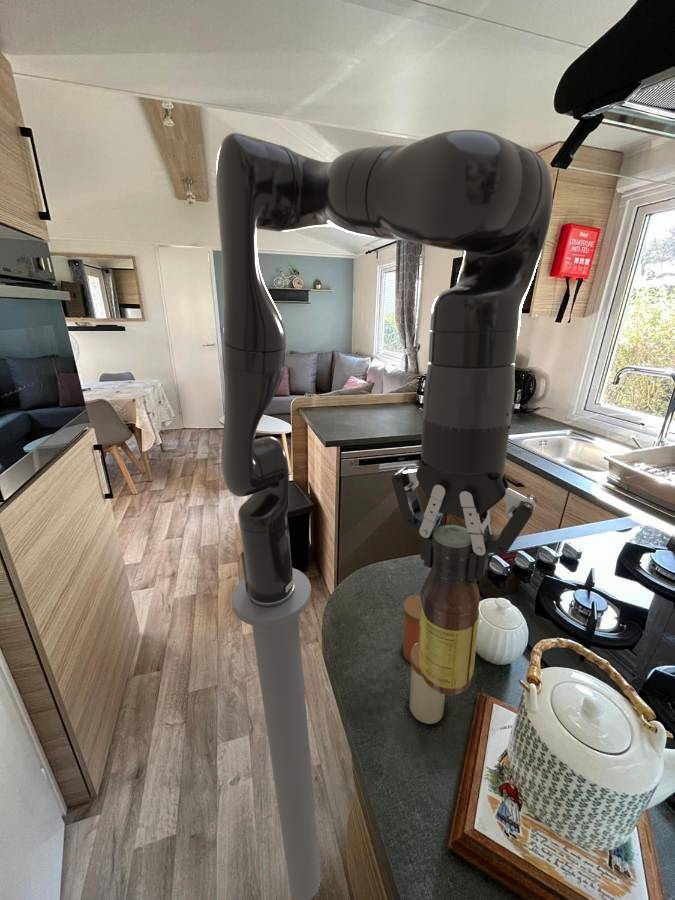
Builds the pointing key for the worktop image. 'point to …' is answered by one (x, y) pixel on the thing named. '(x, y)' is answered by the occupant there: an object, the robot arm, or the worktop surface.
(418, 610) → the terracotta jar
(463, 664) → the sauce bottle
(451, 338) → the robot arm
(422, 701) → the cream jar
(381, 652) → the worktop surface
